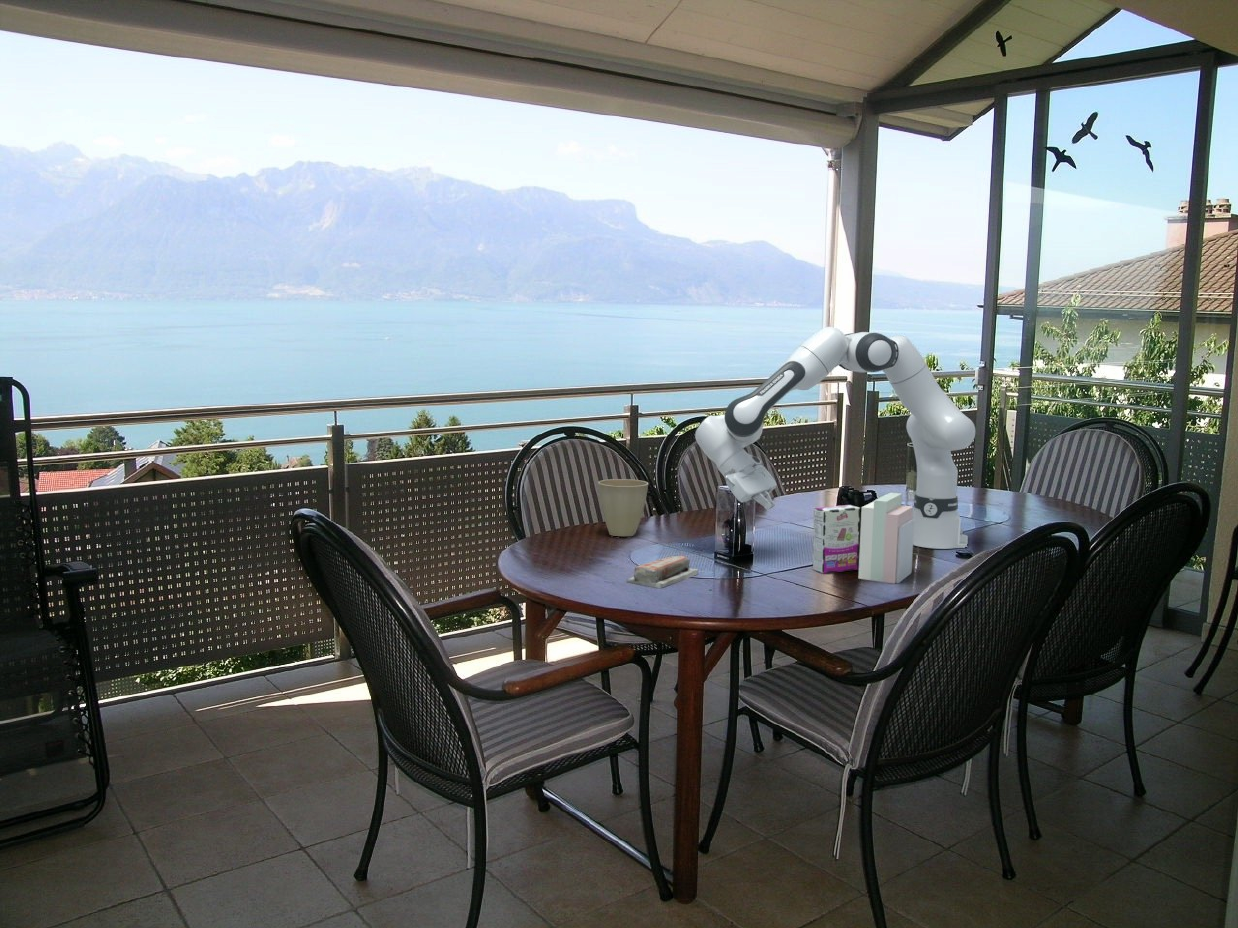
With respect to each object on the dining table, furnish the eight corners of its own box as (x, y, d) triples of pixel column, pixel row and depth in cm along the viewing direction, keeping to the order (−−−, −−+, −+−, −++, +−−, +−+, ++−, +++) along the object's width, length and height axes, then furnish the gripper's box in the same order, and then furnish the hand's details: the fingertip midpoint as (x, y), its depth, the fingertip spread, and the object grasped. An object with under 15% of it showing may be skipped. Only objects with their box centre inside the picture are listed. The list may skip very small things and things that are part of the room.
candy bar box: (846, 565, 253) (849, 504, 251) (858, 570, 248) (861, 507, 246) (810, 569, 249) (813, 506, 246) (822, 574, 244) (825, 510, 242)
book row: (875, 567, 252) (878, 491, 249) (912, 572, 247) (916, 495, 244) (858, 578, 240) (862, 499, 237) (897, 584, 235) (901, 503, 232)
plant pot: (647, 541, 280) (648, 486, 278) (596, 540, 281) (597, 486, 278) (647, 530, 295) (648, 478, 293) (598, 529, 295) (599, 478, 293)
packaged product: (661, 570, 228) (626, 564, 234) (660, 590, 229) (626, 584, 234) (699, 556, 243) (666, 551, 248) (699, 575, 243) (666, 569, 249)
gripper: (730, 465, 251) (764, 506, 247) (761, 456, 268) (793, 494, 265) (714, 480, 254) (747, 521, 250) (745, 471, 271) (777, 509, 267)
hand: (771, 507), depth 257 cm, fingers closed
